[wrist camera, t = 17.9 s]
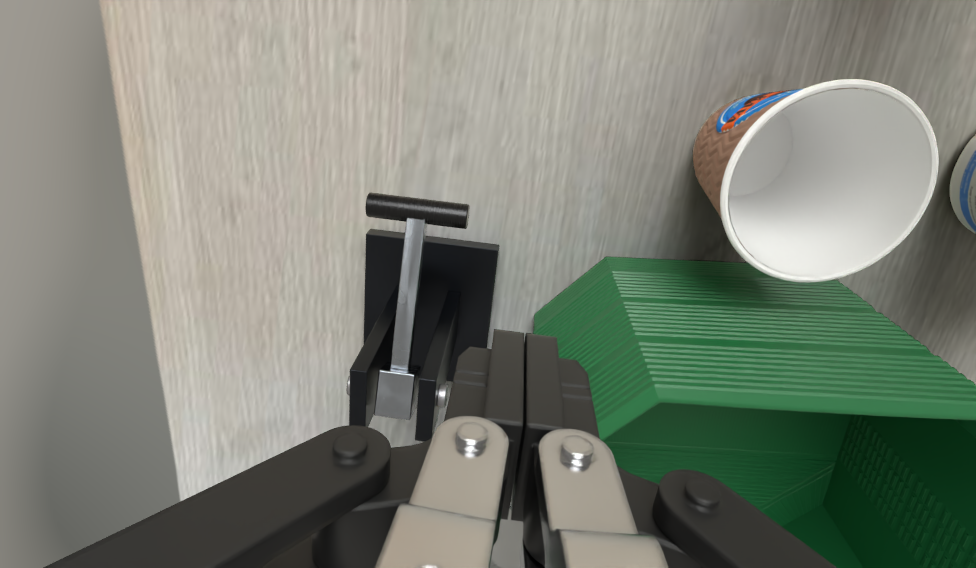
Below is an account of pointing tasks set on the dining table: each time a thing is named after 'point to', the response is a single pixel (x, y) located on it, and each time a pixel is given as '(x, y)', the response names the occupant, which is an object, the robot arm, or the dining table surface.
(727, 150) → the coffee cup
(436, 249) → the black upright frame
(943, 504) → the planter
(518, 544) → the plate
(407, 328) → the lever
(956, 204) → the supplement tub
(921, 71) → the dining table surface
